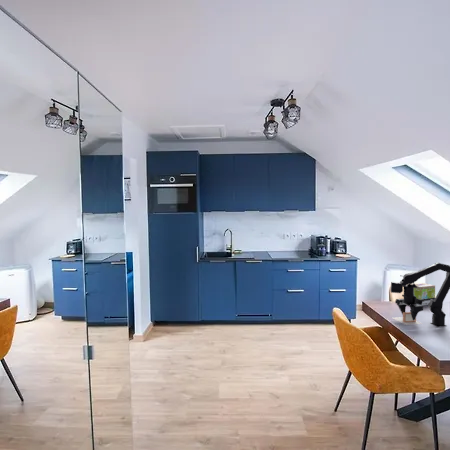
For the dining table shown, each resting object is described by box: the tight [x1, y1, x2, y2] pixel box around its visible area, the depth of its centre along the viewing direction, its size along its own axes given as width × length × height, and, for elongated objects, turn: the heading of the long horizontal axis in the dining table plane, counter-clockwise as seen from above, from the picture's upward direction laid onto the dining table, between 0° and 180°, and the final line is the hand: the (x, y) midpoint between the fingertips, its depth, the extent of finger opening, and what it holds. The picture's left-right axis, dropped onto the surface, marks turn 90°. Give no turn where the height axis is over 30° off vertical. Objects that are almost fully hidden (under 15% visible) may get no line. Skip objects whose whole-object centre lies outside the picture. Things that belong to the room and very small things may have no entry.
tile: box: [402, 311, 417, 322], centre depth 203 cm, size 2×8×6 cm, turn 97°
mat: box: [392, 316, 424, 326], centre depth 206 cm, size 14×12×1 cm
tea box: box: [414, 282, 436, 307], centre depth 244 cm, size 15×10×15 cm
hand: (408, 317), depth 203 cm, fingers open, 9 cm apart
